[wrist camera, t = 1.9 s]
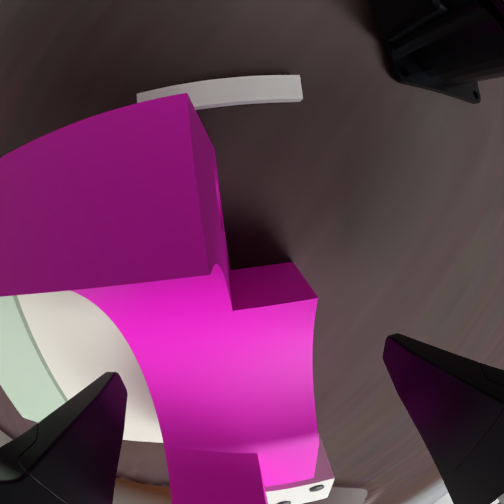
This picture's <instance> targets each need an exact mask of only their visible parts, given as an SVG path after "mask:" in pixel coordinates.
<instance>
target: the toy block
mask: <svg viewBox="0 0 504 504" xmlns="http://www.w3.org/2000/svg"><path fill="white" fill-rule="evenodd" d="M69 290H70V291H73V292H75V293H77V294H79V295H81V296H83V297H85V298H87V299H88V300H90V301H91V302H92V303H94V304H95V305H97V306H98V307H99V308H100V309H101V310H102V311H103V312H104V313H105V314H106V315H107V316H108V317H109V318H110V319H111V320H112V321H113V323H114V324H115V325H116V327H117V328H118V329H119V331H120V332H121V333H122V335H123V336H124V338H125V340H126V341H127V343H128V344H129V346H130V348H131V350H132V352H133V353H134V356H135V358H136V360H137V362H138V364H139V366H140V368H141V371H142V373H143V375H144V378H145V381H146V383H147V386H148V388H149V391H150V394H151V397H152V400H153V404H154V407H155V410H156V414H157V418H158V421H159V425H160V430H161V434H162V438H163V443H164V448H165V453H166V459H167V465H168V472H169V479H170V488H171V500H172V504H268V503H267V497H266V491H265V487H267V486H274V485H281V484H287V483H292V482H297V481H302V480H307V479H311V478H314V473H315V467H316V461H317V455H318V448H319V435H318V429H317V421H316V412H315V402H314V389H313V369H312V347H313V330H314V320H315V313H316V307H317V302H318V297H317V295H316V294H315V292H314V291H313V290H312V288H311V287H310V285H309V284H308V283H307V281H306V280H305V278H304V277H303V276H302V274H301V273H300V271H299V270H298V269H297V267H296V266H295V264H294V263H293V262H288V263H281V264H273V265H266V266H258V267H251V268H243V269H236V270H230V264H229V257H228V250H227V242H226V235H225V227H224V220H223V212H222V204H221V196H220V188H219V180H218V172H217V163H216V154H215V149H214V147H213V145H212V143H211V141H210V139H209V136H208V134H207V132H206V130H205V128H204V126H203V124H202V122H201V120H200V118H199V116H198V114H197V112H196V110H195V108H194V106H193V104H192V102H191V100H190V98H189V96H188V94H187V93H182V94H177V95H171V96H166V97H162V98H157V99H152V100H148V101H144V102H140V103H136V104H132V105H128V106H125V107H121V108H118V109H114V110H111V111H108V112H104V113H101V114H98V115H95V116H92V117H89V118H86V119H84V120H81V121H78V122H75V123H73V124H70V125H68V126H65V127H63V128H60V129H58V130H55V131H53V132H51V133H48V134H46V135H44V136H42V137H40V138H37V139H35V140H33V141H31V142H29V143H27V144H25V145H23V146H21V147H19V148H17V149H15V150H13V151H11V152H10V153H8V154H6V155H4V156H2V157H1V158H0V297H2V296H14V295H26V294H37V293H48V292H59V291H69Z"/></svg>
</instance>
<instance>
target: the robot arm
mask: <svg viewBox="0 0 504 504" xmlns="http://www.w3.org/2000/svg"><path fill="white" fill-rule="evenodd" d="M370 2H371V5H372V8H373V11H374V14H375V17H376V20H377V23H378V26H379V29H380V32H381V35H382V38H383V42H384V45H385V49H386V53H387V57H388V61H389V65H390V70H391V73H392V76H393V77H394V79H395V80H396V81H398V82H399V83H401V84H406V85H411V86H415V87H419V88H423V89H427V90H431V91H435V92H438V93H442V94H445V95H448V96H451V97H455V98H458V99H461V100H464V101H466V102H469V103H472V104H476V103H479V102H480V100H481V99H480V93H479V88H478V84H477V81H482V80H488V79H493V78H499V77H504V0H370ZM400 70H401V71H402V72H403V74H404V76H403V75H402V74H401V72H400ZM383 360H384V363H385V365H386V367H387V370H388V372H389V374H390V376H391V379H392V381H393V383H394V386H395V388H396V390H397V393H398V395H399V397H400V398H401V400H402V402H403V404H404V406H405V407H406V409H407V411H408V413H409V415H410V416H411V418H412V420H413V422H414V424H415V426H416V428H417V429H418V431H419V433H420V435H421V437H422V439H423V441H424V443H425V445H426V447H427V448H428V450H429V452H430V454H431V456H432V458H433V460H434V462H435V464H436V466H437V468H438V471H439V473H440V475H441V477H442V479H443V481H444V483H445V486H446V488H447V490H448V492H449V494H450V496H451V498H452V501H453V503H454V504H490V503H492V502H493V501H495V500H496V499H497V498H498V500H499V501H500V502H499V503H498V504H504V370H501V369H498V368H494V367H491V366H488V365H485V364H482V363H479V362H476V361H474V360H471V359H468V358H465V357H462V356H459V355H456V354H454V353H451V352H448V351H445V350H442V349H440V348H437V347H434V346H431V345H429V344H426V343H423V342H420V341H418V340H415V339H412V338H409V337H407V336H404V335H401V334H399V333H396V334H392V335H389V336H388V337H387V338H386V341H385V347H384V352H383ZM127 397H128V393H127V389H126V387H125V385H124V383H123V381H122V379H121V377H120V375H119V374H118V373H117V372H105V373H104V374H103V375H101V376H100V377H99V378H97V379H96V380H95V381H93V382H92V383H91V384H89V385H88V386H87V387H85V388H84V389H83V390H81V391H80V392H79V393H77V394H76V395H75V396H73V397H72V398H71V399H69V400H68V401H67V402H65V403H64V404H63V405H61V406H60V407H59V408H57V409H56V410H55V411H53V412H52V413H51V414H49V415H48V416H47V417H45V418H44V419H42V420H41V421H40V422H39V424H38V423H37V424H36V425H34V426H33V427H32V428H30V429H29V430H27V431H26V432H25V433H23V434H22V435H20V436H19V437H17V438H15V439H14V440H13V441H10V442H9V443H7V444H5V445H4V446H2V447H0V504H112V501H113V493H114V486H115V480H116V473H117V467H118V461H119V455H120V450H121V445H122V439H123V434H124V426H125V415H126V405H127Z"/></svg>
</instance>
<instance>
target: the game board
mask: <svg viewBox="0 0 504 504" xmlns="http://www.w3.org/2000/svg"><path fill="white" fill-rule="evenodd" d="M182 93H187V94H188V96H189V98H190V100H191V102H192V104H193V106H194V108H195V110H200V109H207V108H215V107H223V106H233V105H244V104H258V103H278V102H300V101H301V100H303V94H302V87H301V80H300V75H262V76H244V77H232V78H222V79H213V80H205V81H198V82H191V83H185V84H179V85H174V86H169V87H164V88H159V89H155V90H150V91H146V92H142V93H138V94H137V103H140V102H144V101H148V100H152V99H157V98H162V97H166V96H171V95H177V94H182ZM105 372H117V373H118V374H119V375H120V377H121V379H122V381H123V383H124V385H125V387H126V389H127V393H128V397H127V405H126V415H125V426H124V434H123V440H132V441H144V442H161V443H163V438H162V434H161V430H160V425H159V421H158V418H157V414H156V410H155V407H154V404H153V400H152V397H151V394H150V391H149V388H148V386H147V383H146V381H145V378H144V375H143V373H142V371H141V368H140V366H139V364H138V362H137V360H136V358H135V356H134V353H133V352H132V350H131V348H130V346H129V344H128V343H127V341H126V340H125V338H124V336H123V335H122V333H121V332H120V331H119V329H118V328H117V327H116V325H115V324H114V323H113V321H112V320H111V319H110V318H109V317H108V316H107V315H106V314H105V313H104V312H103V311H102V310H101V309H100V308H99V307H98V306H97V305H95V304H94V303H92V302H91V301H90V300H88V299H87V298H85V297H83V296H81V295H79V294H77V293H75V292H73V291H70V290H69V291H59V292H48V293H37V294H26V295H14V296H2V297H0V385H1V386H2V388H3V390H4V391H5V393H6V394H7V396H8V397H9V399H10V400H11V402H12V403H13V404H14V406H15V407H16V409H17V410H18V411H19V413H20V414H21V415H22V417H23V418H26V419H29V420H32V421H35V422H40V421H41V420H42V419H44V418H45V417H47V416H48V415H49V414H51V413H52V412H53V411H55V410H56V409H57V408H59V407H60V406H61V405H63V404H64V403H65V402H67V401H68V400H69V399H71V398H72V397H73V396H75V395H76V394H77V393H79V392H80V391H81V390H83V389H84V388H85V387H87V386H88V385H89V384H91V383H92V382H93V381H95V380H96V379H97V378H99V377H100V376H101V375H103V374H104V373H105Z"/></svg>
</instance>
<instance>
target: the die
mask: <svg viewBox="0 0 504 504" xmlns="http://www.w3.org/2000/svg"><path fill="white" fill-rule="evenodd" d="M318 435H319V448H318V455H317V461H316V467H315V473H314V478H311V479H307V480H302V481H297V482H292V483H287V484H281V485H274V486H267V487H265V491H266V496H267V500H268V504H302V503H307V502H311V501H316V500H320V499H324V498H327V497H328V495H329V492H330V490H331V487H332V484H333V481H334V479H335V477H334V475H333V472H332V469H331V466H330V463H329V460H328V457H327V454H326V452H325V449H324V446H323V443H322V440H321V437H320V434H319V432H318Z"/></svg>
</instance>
